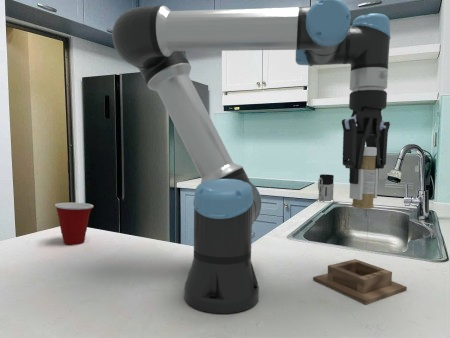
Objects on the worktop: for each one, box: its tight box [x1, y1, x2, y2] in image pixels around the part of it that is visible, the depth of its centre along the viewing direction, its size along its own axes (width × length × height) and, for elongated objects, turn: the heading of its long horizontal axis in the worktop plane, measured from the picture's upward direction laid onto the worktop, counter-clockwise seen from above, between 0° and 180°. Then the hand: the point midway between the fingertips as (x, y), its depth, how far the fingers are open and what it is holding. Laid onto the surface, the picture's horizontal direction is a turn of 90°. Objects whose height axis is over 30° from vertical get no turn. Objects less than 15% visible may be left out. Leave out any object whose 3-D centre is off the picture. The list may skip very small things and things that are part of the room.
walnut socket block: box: [312, 258, 408, 306], centre depth 78 cm, size 14×14×4 cm
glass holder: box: [317, 173, 335, 201], centre depth 193 cm, size 9×14×15 cm, turn 139°
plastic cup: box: [54, 202, 94, 246], centre depth 106 cm, size 11×11×12 cm
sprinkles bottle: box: [351, 146, 377, 210], centre depth 76 cm, size 5×5×14 cm
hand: (363, 197), depth 77 cm, fingers closed on sprinkles bottle, 4 cm apart
